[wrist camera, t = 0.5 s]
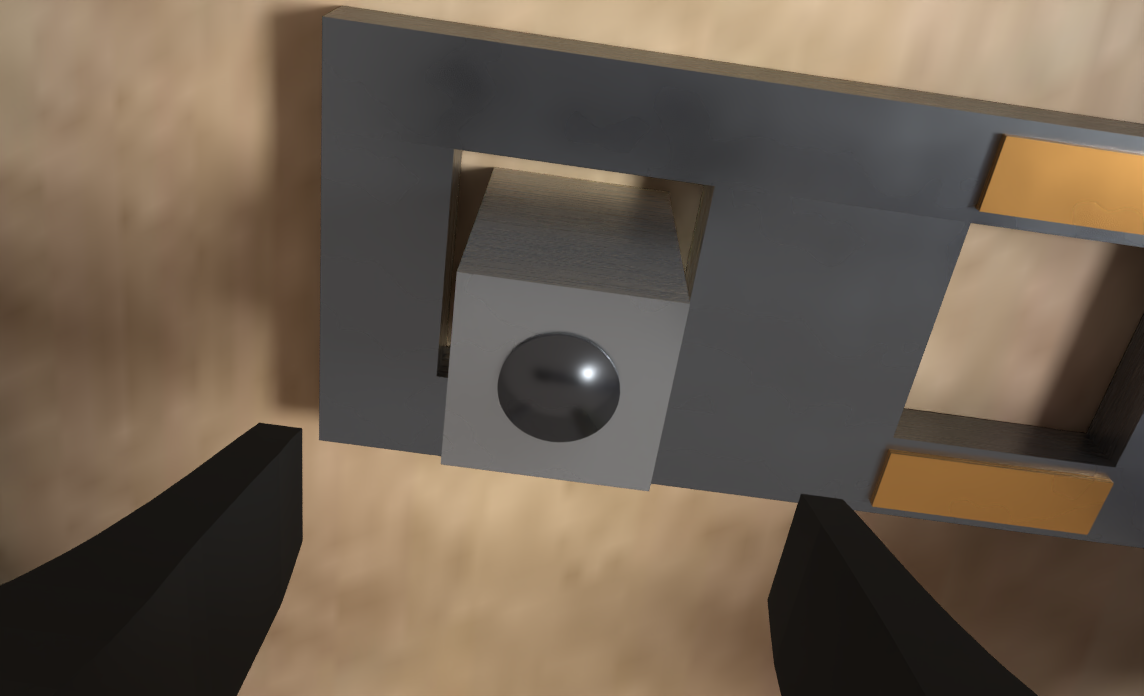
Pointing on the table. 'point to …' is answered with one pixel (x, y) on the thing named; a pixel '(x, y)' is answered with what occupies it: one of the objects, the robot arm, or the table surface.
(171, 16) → the table surface
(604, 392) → the nut block
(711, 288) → the rail
